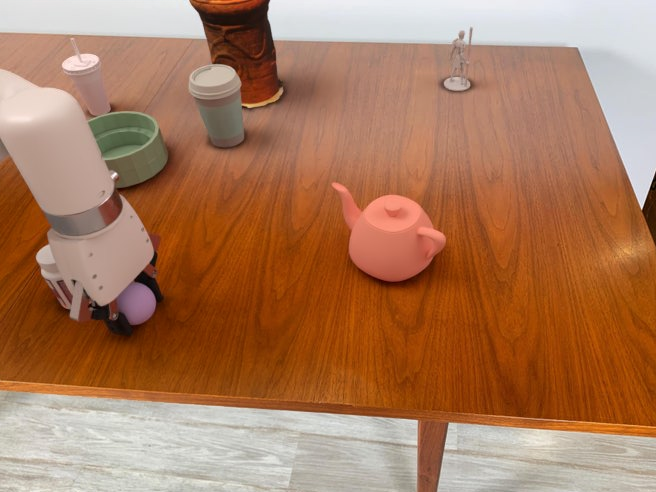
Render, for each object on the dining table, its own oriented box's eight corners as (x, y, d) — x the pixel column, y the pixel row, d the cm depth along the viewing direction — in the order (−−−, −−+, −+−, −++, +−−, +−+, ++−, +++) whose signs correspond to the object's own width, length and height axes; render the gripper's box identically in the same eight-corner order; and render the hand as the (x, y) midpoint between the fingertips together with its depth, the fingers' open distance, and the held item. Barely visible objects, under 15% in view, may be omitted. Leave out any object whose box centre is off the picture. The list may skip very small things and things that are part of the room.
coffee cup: (238, 120, 108) (224, 57, 99) (260, 141, 103) (248, 77, 94) (195, 135, 104) (177, 72, 95) (216, 158, 100) (199, 93, 91)
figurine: (475, 84, 116) (482, 24, 107) (457, 94, 113) (463, 32, 104) (456, 75, 118) (461, 15, 109) (438, 84, 116) (442, 23, 107)
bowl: (74, 195, 93) (58, 164, 88) (89, 145, 102) (75, 115, 98) (165, 186, 94) (154, 154, 90) (171, 137, 104) (162, 107, 99)
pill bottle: (103, 284, 80) (79, 239, 74) (90, 311, 76) (63, 266, 70) (69, 284, 80) (42, 239, 74) (54, 310, 77) (25, 265, 70)
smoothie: (91, 123, 107) (59, 49, 97) (77, 110, 110) (44, 37, 100) (123, 110, 110) (96, 37, 100) (109, 98, 113) (80, 26, 103)
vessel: (198, 103, 112) (169, -5, 97) (233, 69, 121) (212, -35, 106) (266, 115, 109) (246, 5, 94) (297, 79, 118) (284, -27, 103)
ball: (114, 336, 74) (98, 308, 70) (120, 304, 77) (105, 275, 73) (159, 330, 74) (145, 302, 70) (163, 298, 78) (150, 270, 74)
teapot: (419, 305, 77) (422, 254, 70) (312, 253, 83) (305, 202, 76) (463, 252, 83) (469, 200, 76) (360, 208, 90) (358, 156, 83)
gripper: (109, 155, 68) (155, 263, 82) (-7, 248, 58) (68, 355, 71) (162, 169, 66) (200, 278, 80) (52, 268, 56) (117, 375, 69)
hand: (137, 313), depth 75 cm, fingers closed on ball, 5 cm apart
